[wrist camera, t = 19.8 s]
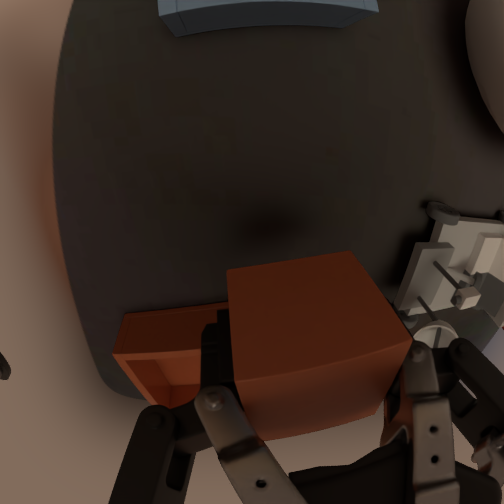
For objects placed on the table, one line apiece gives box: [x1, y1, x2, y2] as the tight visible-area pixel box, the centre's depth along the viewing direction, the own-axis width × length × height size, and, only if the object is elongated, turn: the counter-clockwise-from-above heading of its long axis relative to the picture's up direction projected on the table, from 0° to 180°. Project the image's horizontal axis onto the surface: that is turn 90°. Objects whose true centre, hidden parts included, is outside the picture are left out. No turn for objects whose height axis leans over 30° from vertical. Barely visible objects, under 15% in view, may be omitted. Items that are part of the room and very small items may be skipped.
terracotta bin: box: [112, 302, 245, 413], centre depth 23 cm, size 12×12×5 cm
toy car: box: [393, 201, 504, 348], centre depth 18 cm, size 18×10×12 cm
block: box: [227, 250, 413, 441], centre depth 10 cm, size 5×5×5 cm
